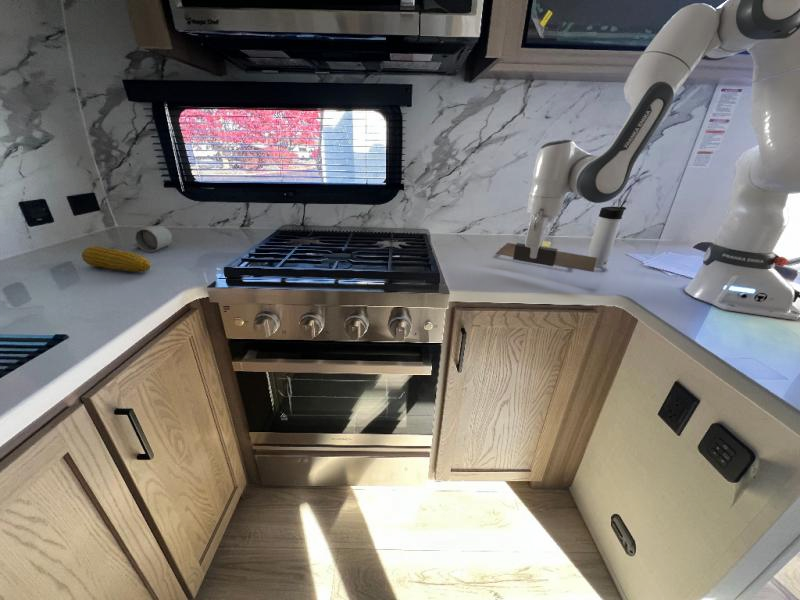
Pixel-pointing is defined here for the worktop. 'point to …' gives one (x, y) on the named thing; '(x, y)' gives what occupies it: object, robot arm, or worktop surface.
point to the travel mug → (605, 234)
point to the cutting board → (509, 250)
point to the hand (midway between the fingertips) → (534, 255)
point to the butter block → (546, 244)
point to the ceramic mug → (153, 238)
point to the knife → (555, 258)
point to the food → (115, 259)
